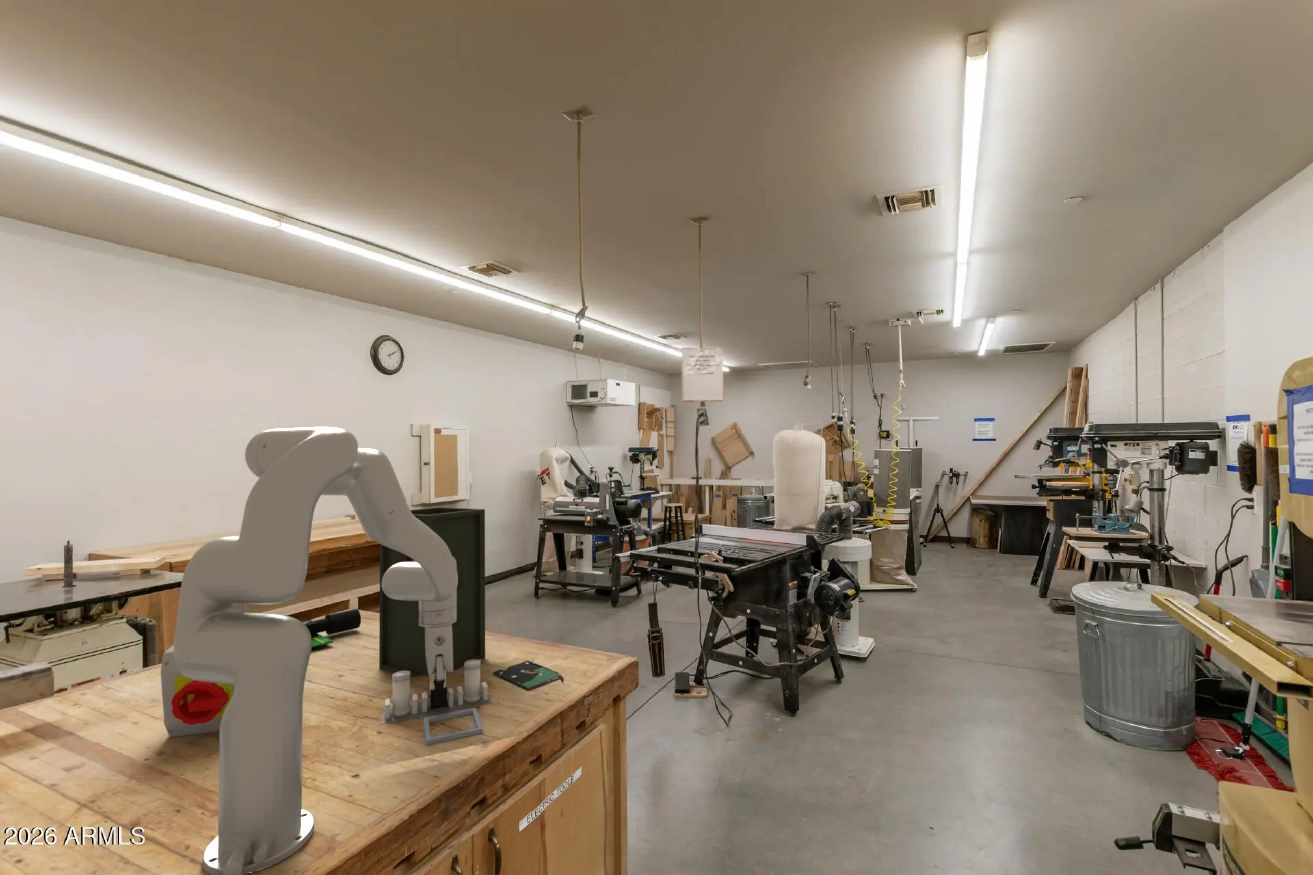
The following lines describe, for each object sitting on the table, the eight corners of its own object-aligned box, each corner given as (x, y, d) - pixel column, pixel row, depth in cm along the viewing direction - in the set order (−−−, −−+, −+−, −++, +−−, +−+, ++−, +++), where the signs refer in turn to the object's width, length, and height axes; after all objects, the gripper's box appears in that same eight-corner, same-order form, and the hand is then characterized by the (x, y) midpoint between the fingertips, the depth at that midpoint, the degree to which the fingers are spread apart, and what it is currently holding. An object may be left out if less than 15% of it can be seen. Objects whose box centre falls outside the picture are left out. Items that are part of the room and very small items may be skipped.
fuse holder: (491, 709, 118) (491, 689, 118) (381, 731, 109) (381, 709, 109) (486, 697, 125) (486, 677, 125) (382, 717, 116) (382, 696, 116)
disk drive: (492, 683, 134) (528, 700, 124) (491, 671, 134) (528, 687, 124) (528, 670, 142) (564, 685, 132) (527, 659, 142) (564, 673, 132)
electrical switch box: (149, 763, 103) (141, 661, 101) (192, 716, 117) (186, 625, 115) (241, 751, 107) (236, 652, 105) (272, 707, 121) (268, 619, 119)
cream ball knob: (481, 701, 119) (481, 663, 119) (465, 704, 118) (465, 666, 118) (479, 695, 122) (479, 658, 122) (463, 698, 121) (463, 661, 121)
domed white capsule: (410, 714, 113) (410, 675, 113) (391, 718, 112) (392, 678, 112) (410, 708, 116) (410, 669, 117) (392, 711, 115) (392, 672, 115)
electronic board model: (257, 639, 146) (239, 629, 156) (257, 666, 146) (238, 654, 155) (372, 613, 170) (350, 606, 179) (372, 636, 169) (350, 627, 179)
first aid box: (379, 668, 143) (380, 513, 144) (439, 647, 159) (439, 507, 160) (426, 682, 134) (427, 515, 135) (485, 657, 150) (484, 509, 151)
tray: (482, 740, 105) (482, 728, 105) (426, 752, 101) (426, 740, 101) (476, 718, 114) (476, 707, 115) (423, 729, 110) (423, 717, 110)
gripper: (460, 623, 112) (460, 715, 111) (452, 603, 127) (452, 684, 126) (420, 628, 108) (419, 723, 108) (417, 607, 124) (416, 690, 123)
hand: (437, 701), depth 117 cm, fingers open, 5 cm apart
